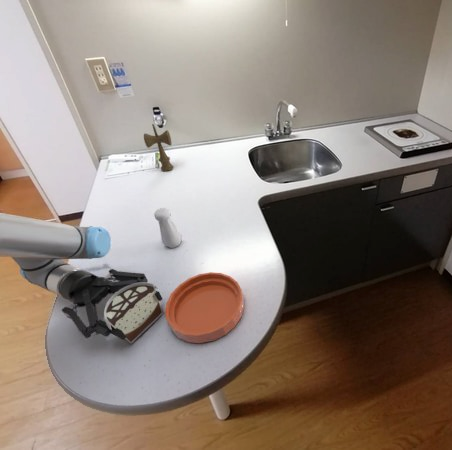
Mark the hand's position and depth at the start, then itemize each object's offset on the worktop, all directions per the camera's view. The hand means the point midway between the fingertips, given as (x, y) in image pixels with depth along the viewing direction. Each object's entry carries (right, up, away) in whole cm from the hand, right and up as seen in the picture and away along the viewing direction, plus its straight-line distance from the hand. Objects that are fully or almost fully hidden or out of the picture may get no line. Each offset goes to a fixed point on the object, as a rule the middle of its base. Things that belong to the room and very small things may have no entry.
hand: (142, 314), depth 69 cm
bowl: (+12, -1, +9) cm, 15 cm away
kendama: (-22, +44, +64) cm, 81 cm away
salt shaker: (-4, +14, +28) cm, 31 cm away
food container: (-4, -4, +6) cm, 7 cm away
